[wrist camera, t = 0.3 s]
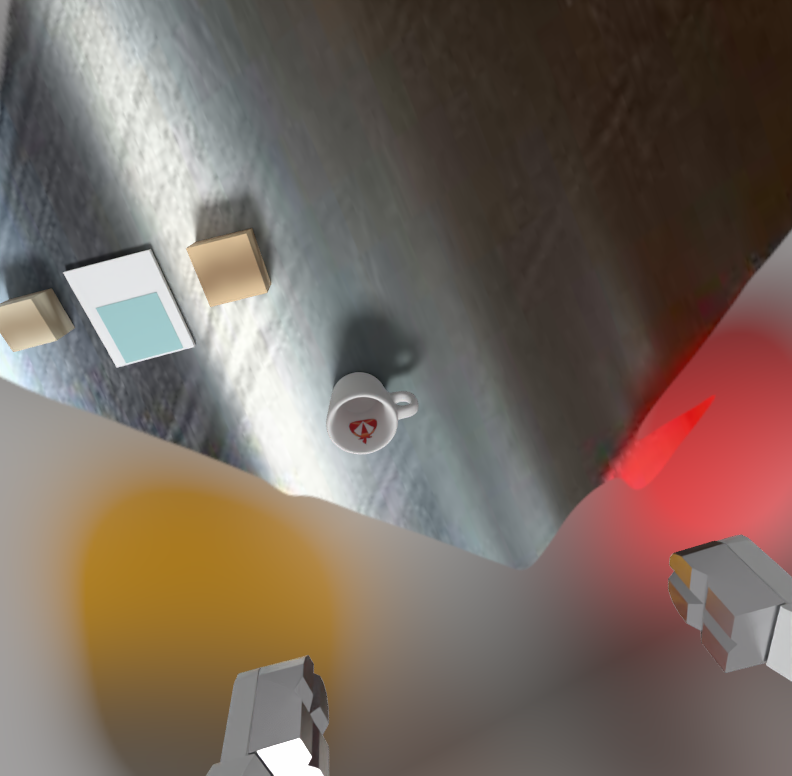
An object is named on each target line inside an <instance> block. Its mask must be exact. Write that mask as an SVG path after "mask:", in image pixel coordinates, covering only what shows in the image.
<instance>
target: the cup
mask: <svg viewBox="0 0 792 776" xmlns="http://www.w3.org/2000/svg"><path fill="white" fill-rule="evenodd" d="M398 402H408V403H410V404H409V405H404V406H401V405H397V404H396V403H398ZM417 411H418V400H417V398H416V396H415V395H414V394H412V393H410V392H407V391H399V392H393V393H389V392H387V391H386V390H385V388H384V386H383V385H382V383H381V382H380V381H379V380H378V379H377V378H376V377H374V376H372V375H370V374H368V373H363V372H355V373H351V374H348V375H346V376H344V377H343V378H341V379H340V380H339V381H338V382H337V383H336V385H335V387H334V389H333V391H332V395H331V399H330V404H329V409H328V414H327V420H326V427H327V432H328V435H329V437H330V439H331V440H332V441H333V443H334V444H335V445H336V446H338V447H339V448H340V449H342V450H344V451H346V452H349V453H353V454H368V453H372V452H375V451H377V450H379V449H381V448H383V447H384V446H386V445H387V444H388V443H389V442H390V441H391V439H392V438H393V437H394V435H395V433H396V430H397V425H398V420H399V419H402V418H407V417H410V416H412V415H414V414H415V413H416V412H417Z"/></svg>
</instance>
